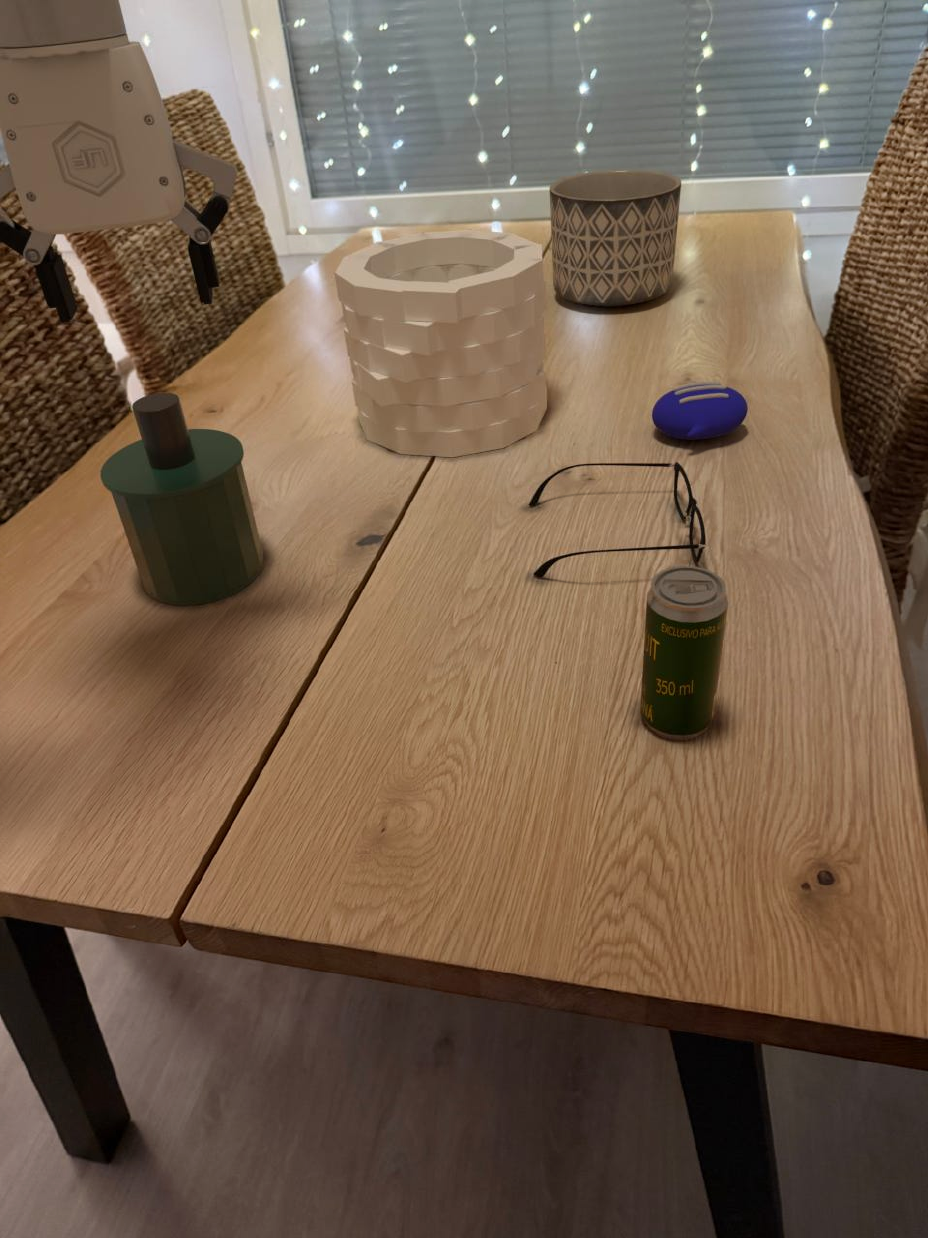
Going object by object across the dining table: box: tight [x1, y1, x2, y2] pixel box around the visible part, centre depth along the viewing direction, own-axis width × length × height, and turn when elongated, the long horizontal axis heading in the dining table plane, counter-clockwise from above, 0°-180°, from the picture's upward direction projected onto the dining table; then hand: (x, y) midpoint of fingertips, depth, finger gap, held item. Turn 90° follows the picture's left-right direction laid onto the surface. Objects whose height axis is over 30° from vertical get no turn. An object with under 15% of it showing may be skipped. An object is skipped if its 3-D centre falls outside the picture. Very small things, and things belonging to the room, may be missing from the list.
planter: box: [549, 168, 682, 308], centre depth 141 cm, size 19×19×16 cm
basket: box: [334, 229, 548, 459], centre depth 109 cm, size 25×24×19 cm
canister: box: [110, 462, 265, 606], centre depth 86 cm, size 12×12×12 cm
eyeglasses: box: [528, 461, 707, 578], centre depth 88 cm, size 16×16×4 cm
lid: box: [99, 392, 245, 499], centre depth 81 cm, size 13×13×7 cm
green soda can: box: [639, 565, 729, 741], centre depth 65 cm, size 5×5×12 cm
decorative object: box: [651, 380, 749, 441], centre depth 103 cm, size 10×6×10 cm
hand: (139, 307), depth 66 cm, fingers open, 9 cm apart
